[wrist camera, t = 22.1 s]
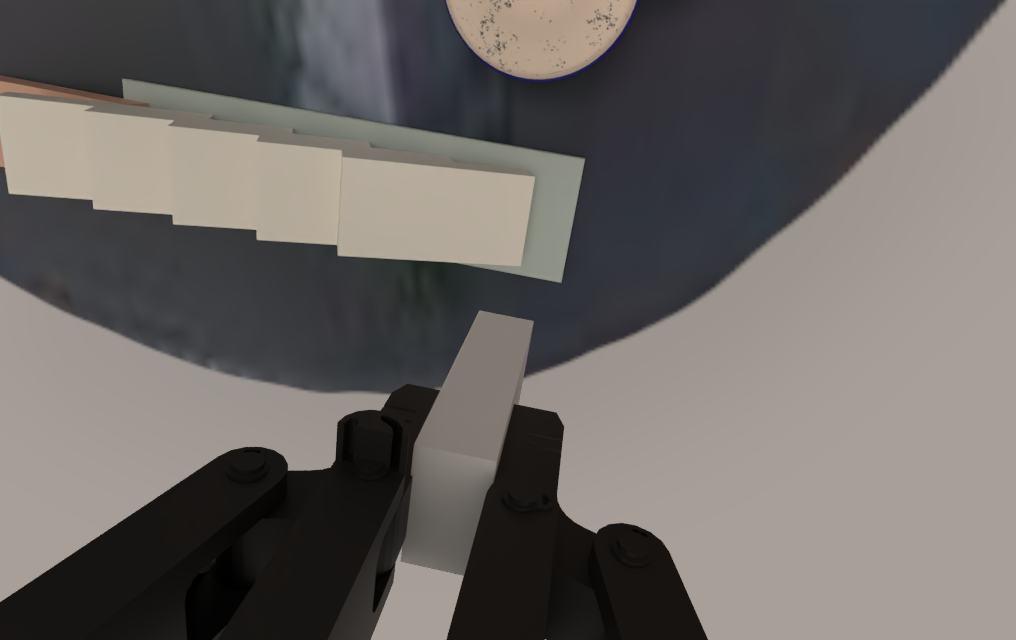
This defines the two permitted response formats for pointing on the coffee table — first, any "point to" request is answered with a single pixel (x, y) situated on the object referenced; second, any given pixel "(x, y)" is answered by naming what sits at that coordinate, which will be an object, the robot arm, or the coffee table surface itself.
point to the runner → (550, 169)
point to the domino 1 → (56, 95)
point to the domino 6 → (432, 210)
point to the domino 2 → (52, 143)
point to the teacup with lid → (541, 34)
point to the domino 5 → (304, 187)
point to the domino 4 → (219, 172)
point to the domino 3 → (136, 157)
